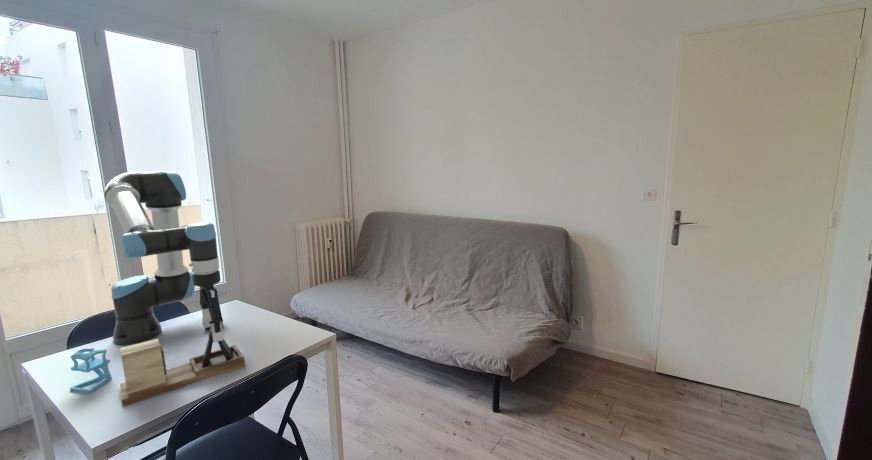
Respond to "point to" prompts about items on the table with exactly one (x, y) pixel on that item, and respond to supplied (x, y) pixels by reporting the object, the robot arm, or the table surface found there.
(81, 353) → the chair
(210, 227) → the robot arm
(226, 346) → the dark grey a-frame stand
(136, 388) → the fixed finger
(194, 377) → the wooden desk organizer
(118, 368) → the table surface
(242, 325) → the table surface
